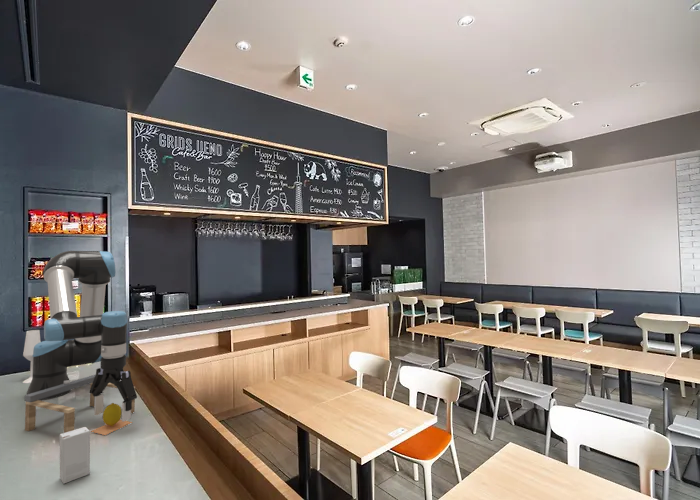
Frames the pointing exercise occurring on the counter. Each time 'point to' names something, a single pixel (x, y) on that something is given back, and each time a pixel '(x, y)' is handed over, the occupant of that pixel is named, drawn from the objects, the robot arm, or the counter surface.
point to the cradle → (68, 411)
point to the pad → (110, 427)
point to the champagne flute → (30, 349)
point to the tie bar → (59, 388)
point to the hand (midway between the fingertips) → (112, 416)
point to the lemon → (112, 414)
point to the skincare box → (74, 454)
